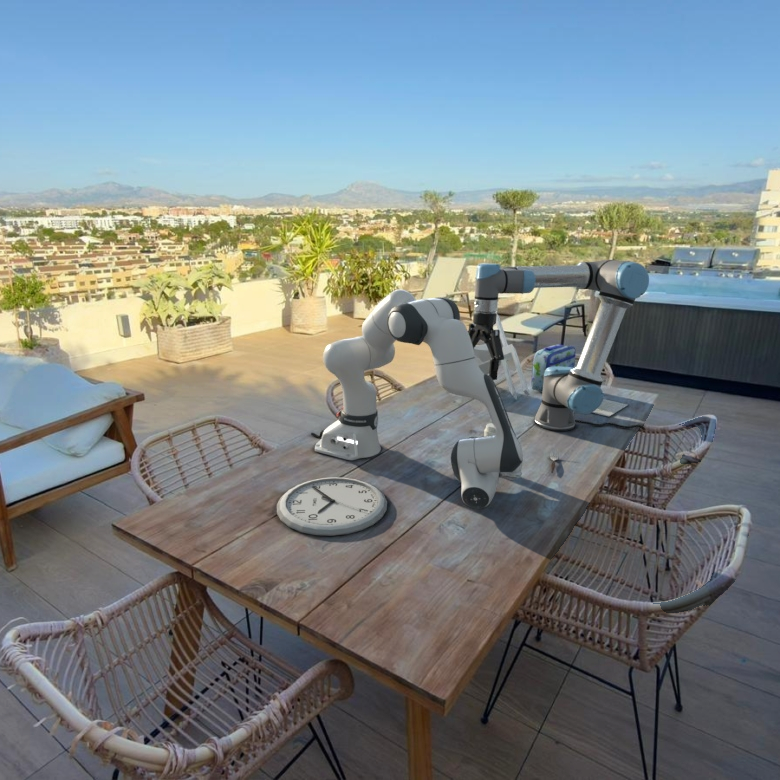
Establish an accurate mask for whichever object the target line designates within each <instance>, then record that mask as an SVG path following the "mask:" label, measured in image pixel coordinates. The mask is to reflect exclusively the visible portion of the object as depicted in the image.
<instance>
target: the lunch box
mask: <svg viewBox="0 0 780 780" xmlns="http://www.w3.org/2000/svg"><path fill="white" fill-rule="evenodd" d="M576 357H577V355H576V347H575V346H569V345H565V344H554V345H550V346H547V347H544V348H542V349H541V348H540V349H539V350H537V351H536V352H535V353H534V356H533V360H532V367H531V368H532V369H531V382H530V383H531V386H530V387H531V389H532V390H533V391H537V392H542V391H543V382H544V373H545V370H546V369H547V368H548V367H557V366H560V367H572V368H575V364H576Z"/></svg>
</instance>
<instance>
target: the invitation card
mask: <svg viewBox="0 0 780 780" xmlns="http://www.w3.org/2000/svg"><path fill="white" fill-rule="evenodd" d="M628 406H629V404H627V403H623V402H618V401H614V400H609V399H605V398H603V401H602V403H601V405H600V406H599V407H598V408H597V409H596V410H595V411H593V412H591V413H593V414H596V415H600V416H604V417H608V418H609V417H611V416H613V415H614V414H616V413H617V412H619V411H621V410H623V409H624V408H626V407H628Z"/></svg>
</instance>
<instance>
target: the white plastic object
mask: <svg viewBox="0 0 780 780" xmlns="http://www.w3.org/2000/svg"><path fill="white" fill-rule="evenodd" d="M495 313H496V314H497V317H496V324H495V326H496V328H497V330H499V331H500V341H501V345H502V350H503V355H504V360H500V361H499V367H500V366H502V370H503V373H504V376H505V380H506V383H507V386H508V390H509V393H510V394H511V395H512V397H513V398H514V399H515V400H517V392H516V391H517V390H516V388H515V385H514V381H513V378H512V375H511V371H510V369H509V365H508V361H510V360H513V363H514V366H515V369H516V372H517V376H518V380H519V382H520V385H521V389H522V391H523V393H524V395H525V396H526V397H528V396H531V395H530V390H529V388H528V387H529V386H528V384H527V381H526V378H525V375H524V371H523V369H522V368H523V367H522V366H521V362H520V359H519V355H518V352H517V349H516V347H515V346H514V345H513V343H511V344H508V341H507V337H506V334H505V331H504V328H503V325H502V321H501V318H500V315H499V314H498V312H497V311H496V312H495ZM474 354H475V358H476V362H477V364H478V366H479V368H480V370H481V371H482V372H483V373H484V374H486V375H489V370H490V360H491V359H492V358H491V355H490V353H489V350H488V347H487V345H486V343H483V344H479V345H478V344H477V345H476V346H475V347H474Z"/></svg>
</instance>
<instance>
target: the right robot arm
mask: <svg viewBox="0 0 780 780" xmlns="http://www.w3.org/2000/svg"><path fill="white" fill-rule="evenodd" d="M474 282H475V285H474V300H473V301H474V303H473V311H474V312H473V315H472V323H469V324H468V329H467V331H468V333H469V336H470V339H471V342H472V345H473V349H474V347H475V346H478V343H479V342H480V341H482V342H483V344H486V345H487V347H488V350H489V353H490V355H491V358H492V359H491V360H490V370H489V374H488V375H489V376H490V377H491V378H492V379H493V381H495V380H497V381H498V371H499V368H500V366H499V361H500V360H504V355H503V350H502V348H503V345H502V341H501V338H500V331H499V330H498V329H494V326H496V317H497V314H498V313H497V311H498V305H499V303H498V302H499V294H500V295H502V294H521V295H523V294H530V293H532V292H533V291H534V289H539V288H540V289H543V288H577V289H578V290H589V291H594V292H599V293H598V296H597V297H598V299H599V300H600V303H599V306H598V309H597V311H596V314H595V316H594V319H593V322H592V324H591V327H590V329H589V332H588V335H587V338H586V340H585V343H584V345H583V348H582V350H581V352H580V353H581V354H580V356H579V359H578V362H577V363H576V366H574V368H572V367H560V366H557V367H548V368H547V369H546V370H545V373H544V382H543V391H541V393H542V394H541V402H540V405H539V407H538V410H537V411H536V413H535V417H534V424H535V425H536V426H537V427H539V428H542V429H544V430H549V431H556V432H567V431H572V430H574V429H575V428H576V423H577V424H584V425H588V426H592V427H604V426H614V427H617V428H619V429H620V428H621V429H626V430H628V429H635V428H640V429H641V430H643V431H646V430H647V429H646V428H645V426H643V425H641V424H633V425H622V424H618V423H614V422H602V423H594V422H590V421H587V420H585V421H584V420H579V419H576V418H575V417H576V416H575V413H576V414H580V415H589V414H591V413H592V412H593V411H595V410H596V409H597V408H598V407H599V406H600V405H601V403H602V401H603V399H604V393H603V389H602V385H603V382H604V380H603V378H602V372H603V370H604V367H605V365H606V362H607V359H608V357H609V354H610V351H611V349H612V347H613V343H614V342H615V340H616V336H617V334H618V331H619V329H620V327H621V326H620V325H621V323H622V321H623V319H624V316H625V313H626V311H627V309H629V308H631V307H633V306H634V304H635V301H636V299H638V298H641V296H643V295H644V294H645V293H646V292H647V290H648V288H649V285H650V276H649V273H648V270H647V269H646V267H645V266H644V265H643V264H641V263H639V262H635V261H630V260H619V259H617V260H616V259H602V260H601V259H600V260H594V261H582V262H579V263H578V264H572V265H569V264H568V265H537V266H536V265H531V266H529V265H528V266H527V265H526V266H501V264H499V263H493V262H491V263H490V262H489V263H487V262H485V263H483V262H482V263H478V265H477V266H476V270H475V281H474ZM495 312H496V313H497V314H496V313H495Z"/></svg>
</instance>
